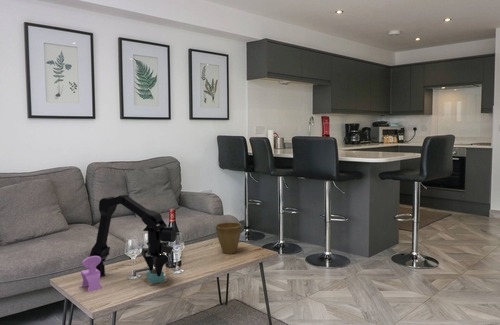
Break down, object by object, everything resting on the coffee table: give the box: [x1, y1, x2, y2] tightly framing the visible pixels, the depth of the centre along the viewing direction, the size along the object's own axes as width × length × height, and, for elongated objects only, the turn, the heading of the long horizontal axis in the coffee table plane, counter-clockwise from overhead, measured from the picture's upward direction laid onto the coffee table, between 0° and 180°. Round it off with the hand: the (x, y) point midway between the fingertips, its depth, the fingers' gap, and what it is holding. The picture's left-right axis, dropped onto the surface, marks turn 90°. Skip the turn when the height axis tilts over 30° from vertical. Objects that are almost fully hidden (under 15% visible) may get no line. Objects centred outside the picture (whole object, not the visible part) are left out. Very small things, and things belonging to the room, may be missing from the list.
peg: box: [143, 268, 168, 287], centre depth 190 cm, size 8×8×6 cm
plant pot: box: [215, 221, 242, 254], centre depth 236 cm, size 15×15×16 cm
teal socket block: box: [146, 270, 165, 284], centre depth 190 cm, size 6×6×4 cm
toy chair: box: [80, 256, 103, 293], centre depth 184 cm, size 8×9×15 cm
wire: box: [132, 267, 155, 277], centre depth 198 cm, size 9×7×2 cm
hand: (155, 273), depth 190 cm, fingers open, 9 cm apart
